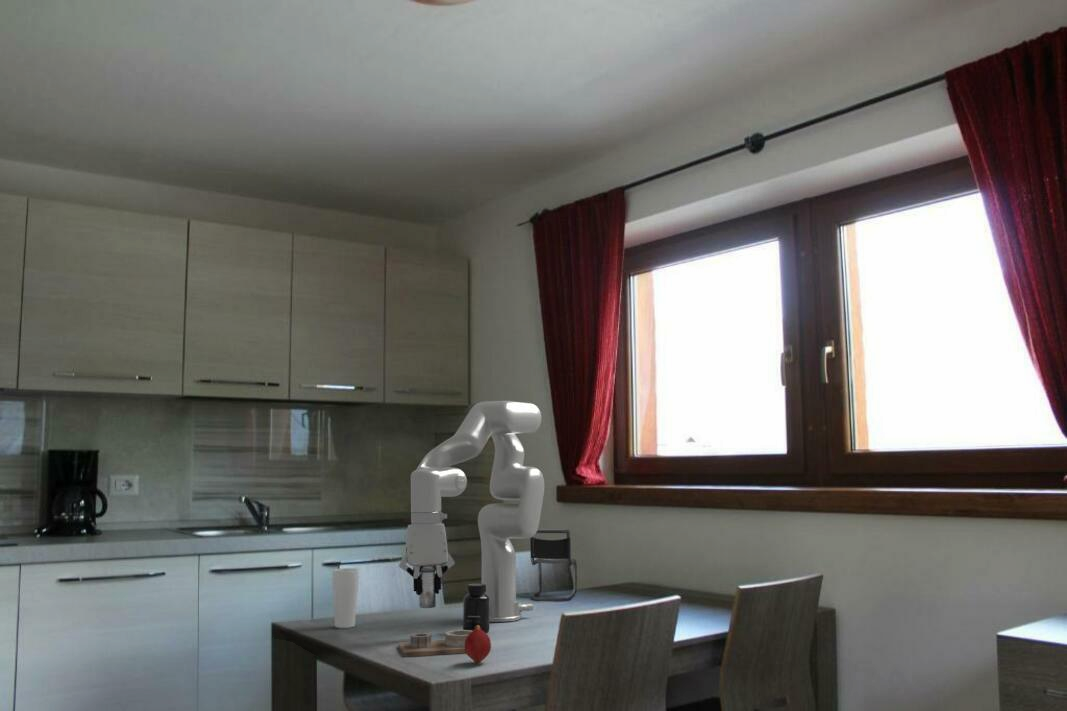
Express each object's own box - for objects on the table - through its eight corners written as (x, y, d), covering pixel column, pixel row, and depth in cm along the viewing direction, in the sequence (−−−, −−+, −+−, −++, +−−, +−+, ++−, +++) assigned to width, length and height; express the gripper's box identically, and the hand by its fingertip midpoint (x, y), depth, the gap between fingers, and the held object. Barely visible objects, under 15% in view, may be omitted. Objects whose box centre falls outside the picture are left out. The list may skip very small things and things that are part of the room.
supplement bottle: (469, 635, 234) (469, 587, 235) (458, 631, 240) (458, 583, 241) (494, 633, 237) (494, 585, 238) (483, 629, 243) (483, 582, 244)
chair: (528, 601, 291) (527, 529, 293) (538, 593, 308) (537, 525, 310) (569, 601, 289) (568, 529, 291) (577, 594, 305) (576, 526, 308)
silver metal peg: (435, 604, 233) (434, 564, 234) (437, 607, 229) (437, 566, 230) (417, 605, 232) (417, 565, 233) (420, 608, 228) (419, 567, 229)
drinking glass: (351, 629, 243) (352, 571, 245) (327, 629, 245) (328, 570, 246) (361, 625, 250) (362, 568, 252) (338, 624, 251) (338, 568, 253)
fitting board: (476, 642, 225) (476, 627, 226) (487, 651, 214) (487, 636, 214) (398, 646, 220) (398, 631, 221) (404, 657, 209) (404, 641, 209)
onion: (464, 660, 205) (464, 623, 206) (490, 659, 205) (490, 622, 206) (464, 666, 199) (464, 627, 200) (491, 665, 199) (491, 627, 200)
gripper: (456, 516, 238) (457, 589, 237) (391, 519, 234) (391, 593, 232) (462, 518, 231) (463, 593, 229) (394, 521, 227) (395, 598, 225)
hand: (427, 592), depth 231 cm, fingers closed on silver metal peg, 4 cm apart
